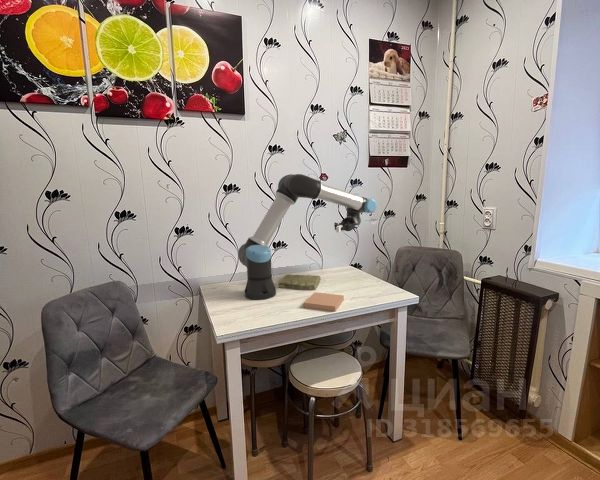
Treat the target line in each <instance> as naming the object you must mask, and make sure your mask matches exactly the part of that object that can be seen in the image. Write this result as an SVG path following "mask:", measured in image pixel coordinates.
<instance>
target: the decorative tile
mask: <svg viewBox="0 0 600 480" xmlns="http://www.w3.org/2000/svg"><path fill="white" fill-rule="evenodd" d="M321 279H322V278H321V275H313V274H311V275H310V274H291V273H287V274H285V275H284V276H283V277H282V278H281V279H280V281H279V283H278V289H289V290H299V291H316V290H317V288H318V286H319V285H320V282H321Z"/></svg>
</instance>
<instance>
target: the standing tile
mask: <svg viewBox="0 0 600 480" xmlns="http://www.w3.org/2000/svg"><path fill="white" fill-rule="evenodd" d="M344 301H345V295H341V294H335V293H334V294H333V293H332V294H331V293H326V292H325V293H324V292H314V293H312V294H311V295H310V296H309V297H308V298H307V299H306V300H305V301H304V302H303V308H305V309H313V310H319V311H327V312H335V313H336V312H337V310H338V309H339V308H340V307H341V305H342V303H343V302H344Z"/></svg>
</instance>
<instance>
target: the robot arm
mask: <svg viewBox="0 0 600 480" xmlns="http://www.w3.org/2000/svg"><path fill="white" fill-rule="evenodd" d="M299 198H302V199H310V200H311V199H312V200H316V199H319V200H322V201H325V202H328V203H332V204H335V205H339V206H342V207H345V208H346V217H345V218H342V220H341V221H340V222H339V223H338V222H333V223H334V224H333V225H334V230H335V232H336V233H341V232H343V231H345V232H351V231H352V230H354V229H358V227H359V226H360V225H361V223H362V218H361V214H360V213H365V214H372V213H373V214H374V212H375V211H376V210H377V208H378V203H377V201H376V200H375V199H373V198H368V197H364V196H361V195H360V194H359V193H358V194H355V193H351V192H349V191H345V190H341V189H338V188H336V187H333V186H330V185H327V184H323V183H322V182H321V181H320V180H318V179H315V178H313V177H310V176H308V175H305V174H302V173H297V174H293V173H292V174H291V173H290V174H287V175H284V176H282V177H281V178H280V180H279V181H278V184H277V189H276V191H275V199H274V200H273V202H272V203H271V205H270V207H269V209H268V210H267V211H266V214H265V215H264V217H263V219H262V221H261V222H260V224H259V226H258V227H257V229H256V231H255V232H254V234H253V236H250V237H248V238H247V240H246V242H245V243H243V244H242V245H241V246H240V247H239V249H238V252H237V258H238V260H239V261H240V263H241V264H242V266H245V267H246V271H247V272H246V274H247V275H246V276H247V279H246V284H245V288H244V297H245V298H246V299H249V300H257V301H260V300H267V299H271V298H273V297H275V296H276V295H277V289H276V286H275V282H274V281H273V274H272V272H273V271H272V251H271V249H270V247H269V246H268V244H269V242H270V240H271V239H272V238H273V235H275V233H276V231H277V229H278V228H279V226H280V225H281V222H282V220H283V218H284V217H285V215H286V214H287V212H288V210H289V209H290V207H291V206H294V205H295V204H296V203H297V200H298V199H299Z"/></svg>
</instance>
